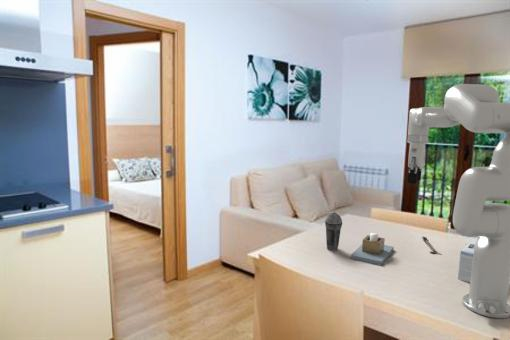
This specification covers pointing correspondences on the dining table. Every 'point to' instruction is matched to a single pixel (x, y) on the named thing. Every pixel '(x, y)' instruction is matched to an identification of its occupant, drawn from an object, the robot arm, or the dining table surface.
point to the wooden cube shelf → (373, 245)
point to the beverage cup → (333, 230)
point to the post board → (371, 257)
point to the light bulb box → (466, 262)
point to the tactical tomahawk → (430, 246)
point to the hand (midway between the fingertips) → (414, 181)
